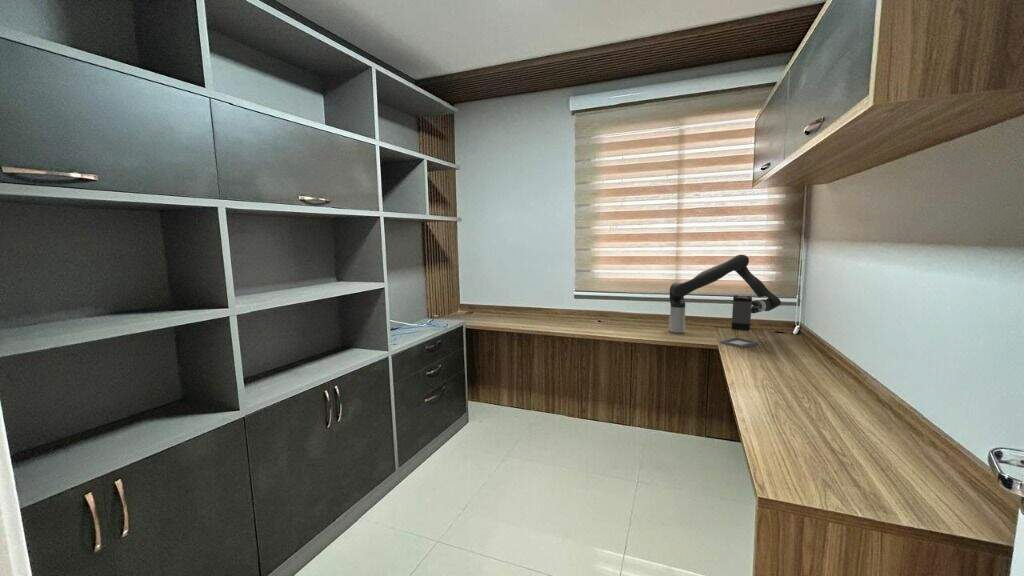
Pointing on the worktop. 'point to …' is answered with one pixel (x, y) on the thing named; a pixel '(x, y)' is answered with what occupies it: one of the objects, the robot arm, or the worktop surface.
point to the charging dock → (739, 342)
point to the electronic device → (741, 313)
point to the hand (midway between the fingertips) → (739, 309)
